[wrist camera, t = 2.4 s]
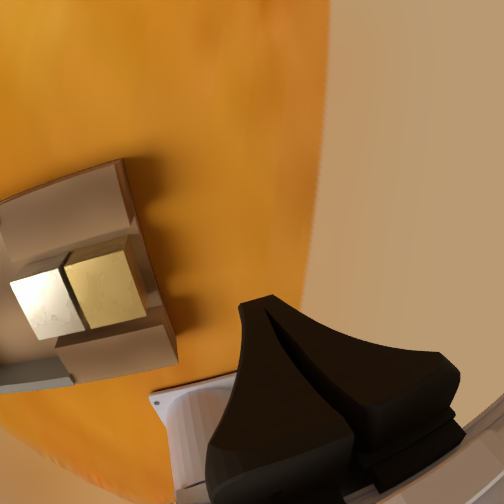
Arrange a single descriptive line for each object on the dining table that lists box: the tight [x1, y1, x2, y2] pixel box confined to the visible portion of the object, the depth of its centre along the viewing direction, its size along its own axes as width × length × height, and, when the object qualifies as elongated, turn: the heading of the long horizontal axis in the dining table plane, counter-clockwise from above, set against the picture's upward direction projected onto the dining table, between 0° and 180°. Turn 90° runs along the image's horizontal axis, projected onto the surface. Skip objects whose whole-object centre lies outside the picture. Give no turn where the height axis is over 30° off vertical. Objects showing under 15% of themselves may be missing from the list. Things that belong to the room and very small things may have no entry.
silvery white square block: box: [10, 251, 88, 340], centre depth 16 cm, size 4×4×2 cm
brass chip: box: [64, 235, 148, 329], centre depth 16 cm, size 4×4×2 cm
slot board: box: [0, 158, 179, 384], centre depth 16 cm, size 12×17×3 cm
